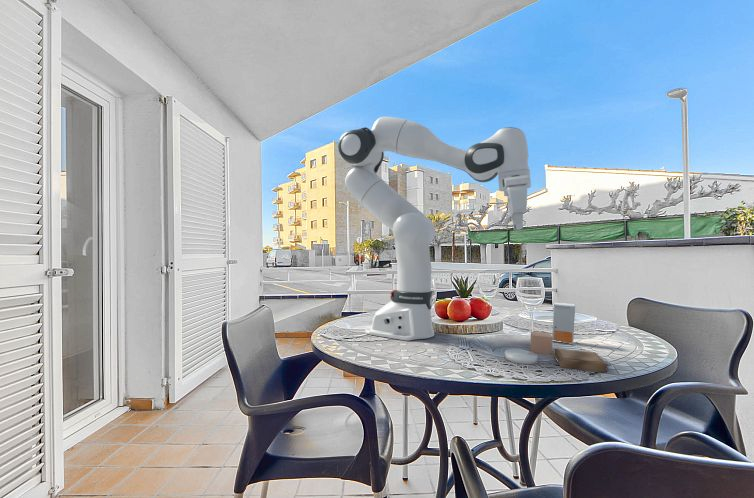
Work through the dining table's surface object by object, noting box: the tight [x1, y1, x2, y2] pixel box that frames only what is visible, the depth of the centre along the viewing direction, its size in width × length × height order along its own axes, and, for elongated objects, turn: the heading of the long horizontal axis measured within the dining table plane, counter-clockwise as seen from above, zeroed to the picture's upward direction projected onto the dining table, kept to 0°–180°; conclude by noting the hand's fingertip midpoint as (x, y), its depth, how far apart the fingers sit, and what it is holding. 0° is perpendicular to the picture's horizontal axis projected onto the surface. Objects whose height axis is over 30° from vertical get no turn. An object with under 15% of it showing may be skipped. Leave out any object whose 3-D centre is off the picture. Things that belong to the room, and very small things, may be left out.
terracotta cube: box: [529, 331, 553, 356], centre depth 105 cm, size 5×5×5 cm
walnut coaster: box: [553, 348, 608, 373], centre depth 95 cm, size 10×10×2 cm
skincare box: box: [551, 302, 576, 346], centre depth 116 cm, size 6×4×12 cm
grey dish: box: [504, 348, 538, 365], centre depth 97 cm, size 8×8×2 cm
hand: (518, 229), depth 110 cm, fingers open, 8 cm apart
